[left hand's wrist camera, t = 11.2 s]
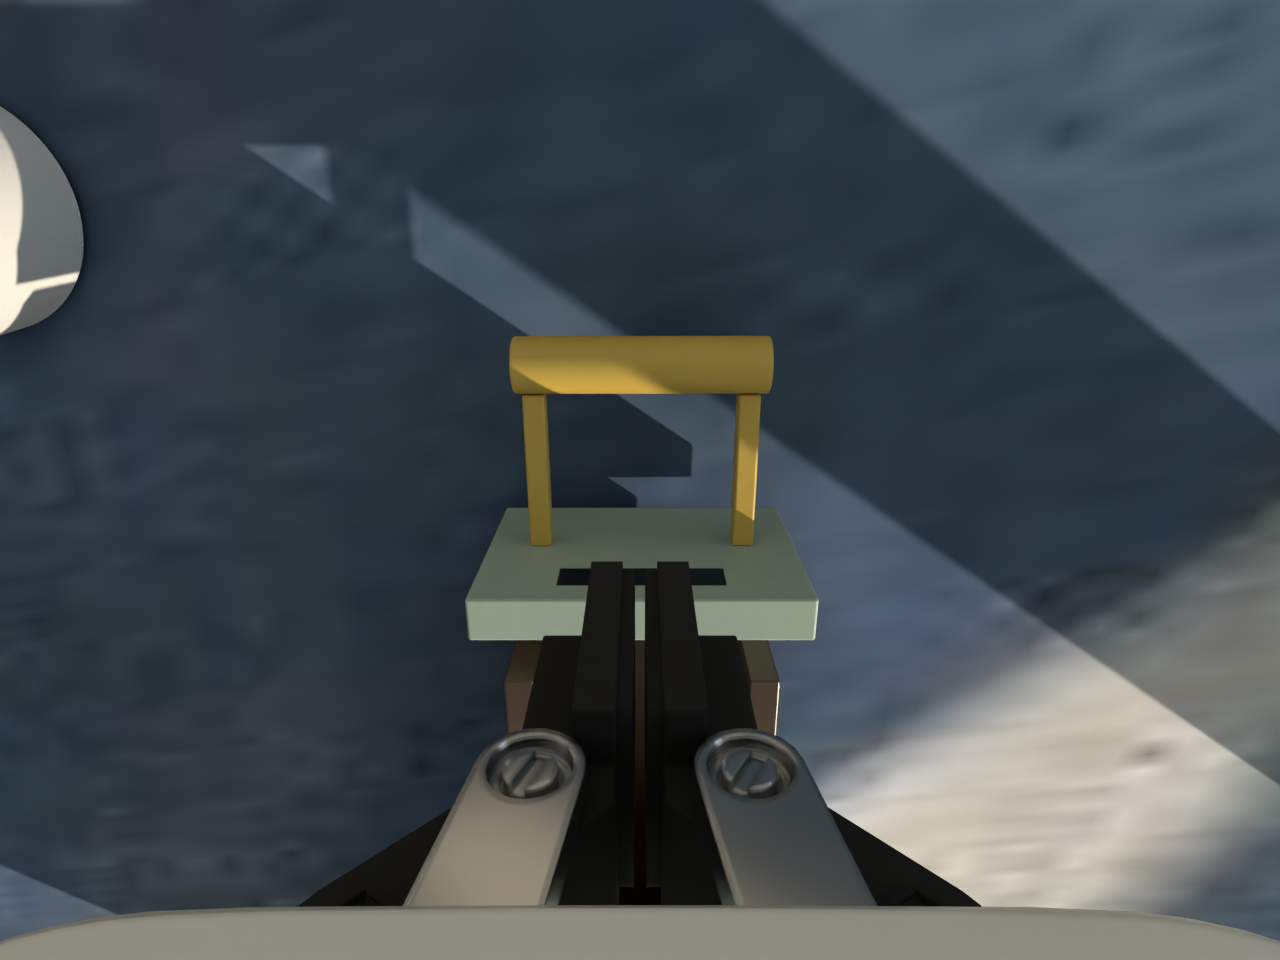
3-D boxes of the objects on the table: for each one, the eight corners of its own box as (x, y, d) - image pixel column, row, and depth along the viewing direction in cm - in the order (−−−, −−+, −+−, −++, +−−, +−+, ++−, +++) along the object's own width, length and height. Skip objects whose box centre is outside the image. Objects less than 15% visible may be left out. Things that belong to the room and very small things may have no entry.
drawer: (493, 321, 22) (441, 360, 16) (789, 321, 22) (841, 360, 16) (537, 946, 31) (513, 1113, 25) (747, 946, 31) (771, 1113, 25)
